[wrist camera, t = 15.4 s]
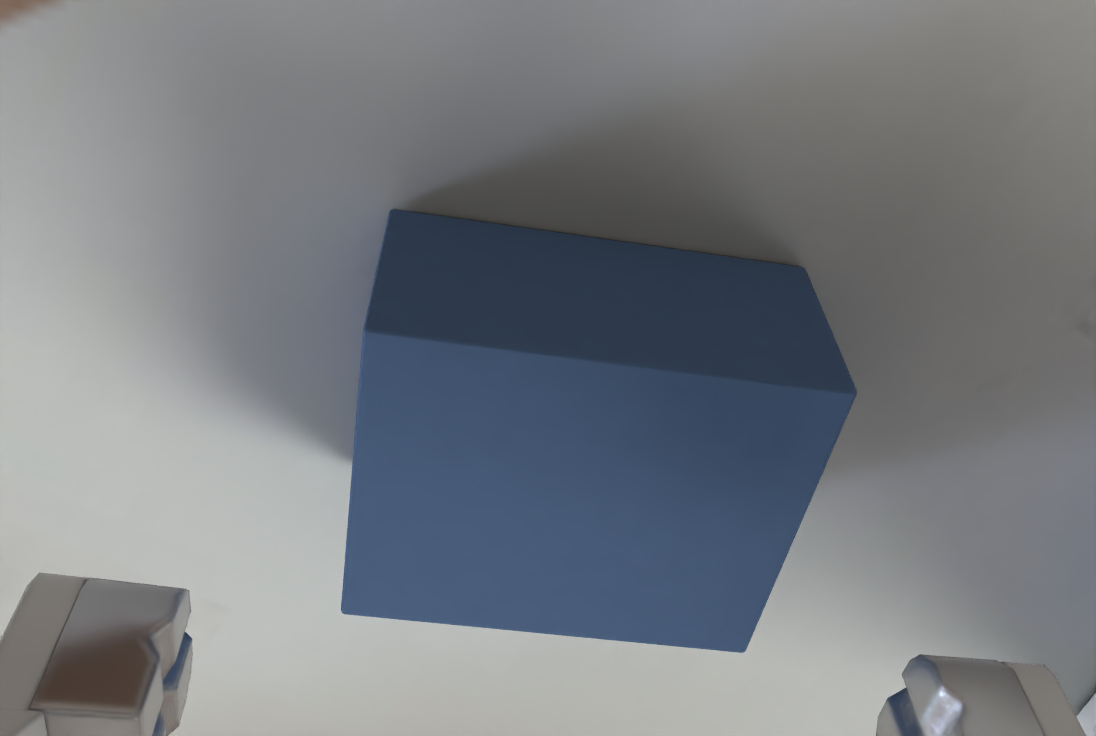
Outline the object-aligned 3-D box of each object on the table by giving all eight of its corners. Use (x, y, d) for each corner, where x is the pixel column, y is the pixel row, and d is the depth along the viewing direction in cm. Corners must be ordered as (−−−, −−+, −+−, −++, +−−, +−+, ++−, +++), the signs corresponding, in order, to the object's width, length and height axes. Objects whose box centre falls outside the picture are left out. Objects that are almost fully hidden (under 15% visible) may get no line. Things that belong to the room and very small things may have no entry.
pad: (806, 265, 15) (860, 392, 13) (716, 513, 18) (745, 654, 16) (389, 207, 14) (362, 328, 12) (366, 474, 17) (340, 615, 15)
